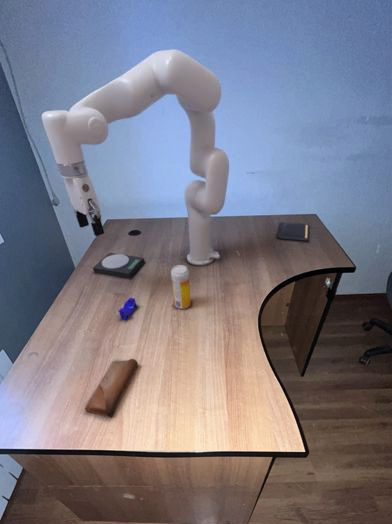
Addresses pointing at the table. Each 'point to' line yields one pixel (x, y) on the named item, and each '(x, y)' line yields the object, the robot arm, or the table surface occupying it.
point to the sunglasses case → (111, 388)
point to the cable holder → (128, 308)
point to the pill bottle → (180, 286)
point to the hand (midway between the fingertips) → (91, 230)
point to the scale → (119, 265)
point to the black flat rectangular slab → (293, 231)
